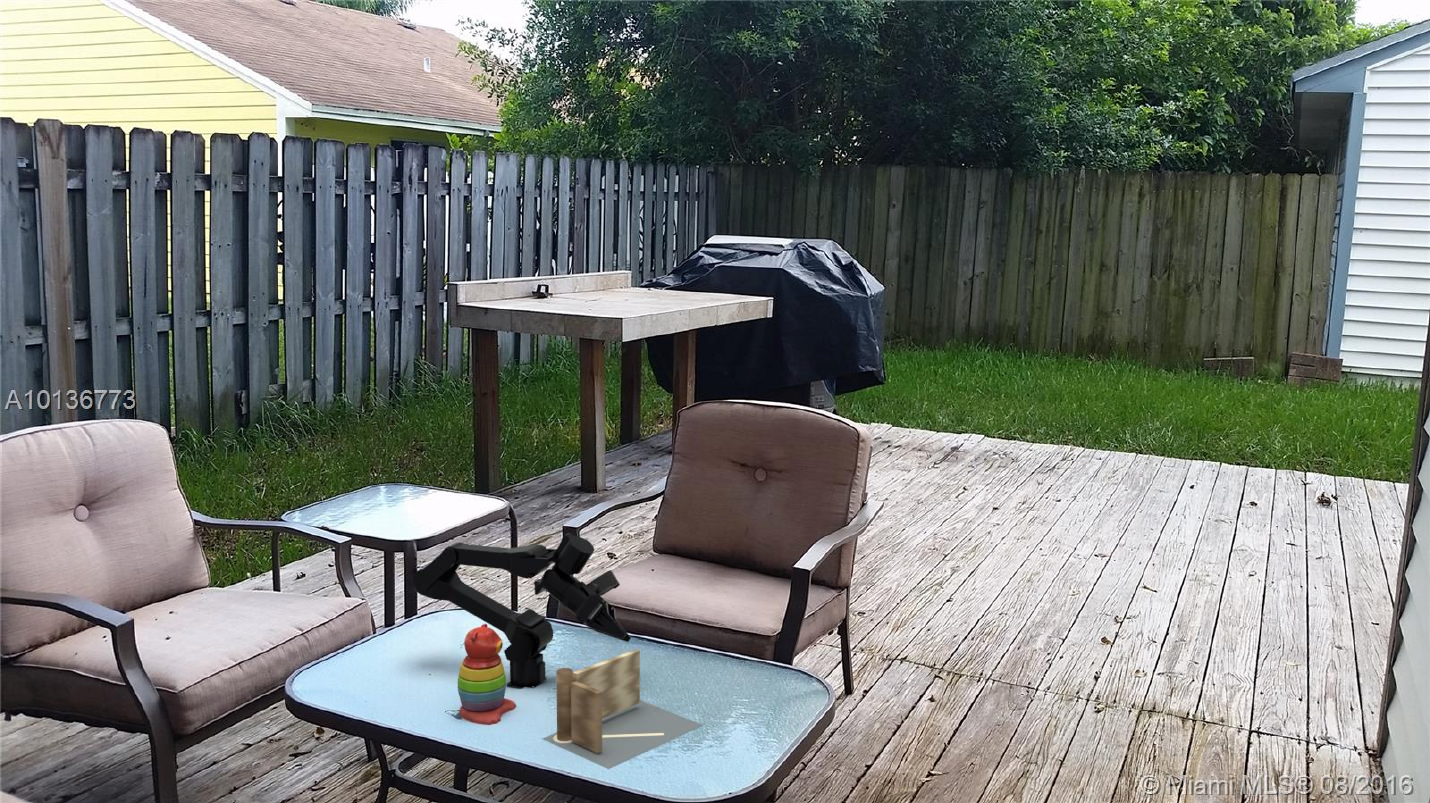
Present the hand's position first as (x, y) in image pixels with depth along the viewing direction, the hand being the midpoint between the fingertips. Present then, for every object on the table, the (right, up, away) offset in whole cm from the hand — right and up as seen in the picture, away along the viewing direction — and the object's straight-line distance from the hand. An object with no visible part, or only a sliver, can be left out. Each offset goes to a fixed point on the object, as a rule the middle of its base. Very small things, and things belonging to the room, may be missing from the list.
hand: (627, 638), depth 236 cm
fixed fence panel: (-7, -15, -20) cm, 27 cm away
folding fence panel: (-3, -13, -10) cm, 16 cm away
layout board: (+1, -15, -15) cm, 21 cm away
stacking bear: (-28, -14, -6) cm, 32 cm away
